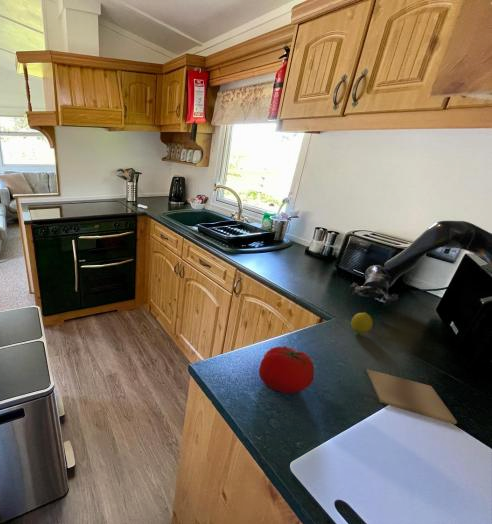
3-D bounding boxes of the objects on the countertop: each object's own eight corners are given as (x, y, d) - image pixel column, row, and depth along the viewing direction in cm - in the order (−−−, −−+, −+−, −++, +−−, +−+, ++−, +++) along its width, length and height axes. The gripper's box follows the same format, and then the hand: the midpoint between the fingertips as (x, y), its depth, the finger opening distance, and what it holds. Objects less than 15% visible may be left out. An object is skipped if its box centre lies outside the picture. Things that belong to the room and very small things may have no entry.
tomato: (247, 370, 77) (255, 337, 73) (291, 369, 78) (301, 337, 75) (268, 404, 66) (278, 368, 63) (319, 402, 68) (332, 367, 64)
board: (430, 388, 75) (431, 385, 74) (456, 424, 64) (457, 422, 64) (365, 371, 79) (366, 368, 79) (380, 402, 69) (381, 399, 69)
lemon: (344, 330, 99) (352, 310, 96) (353, 327, 101) (361, 307, 98) (362, 339, 94) (370, 318, 91) (371, 336, 97) (379, 315, 94)
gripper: (357, 272, 117) (350, 283, 105) (402, 284, 108) (400, 297, 97) (351, 289, 119) (343, 301, 108) (395, 302, 111) (392, 316, 99)
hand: (370, 299), depth 102 cm, fingers open, 8 cm apart
